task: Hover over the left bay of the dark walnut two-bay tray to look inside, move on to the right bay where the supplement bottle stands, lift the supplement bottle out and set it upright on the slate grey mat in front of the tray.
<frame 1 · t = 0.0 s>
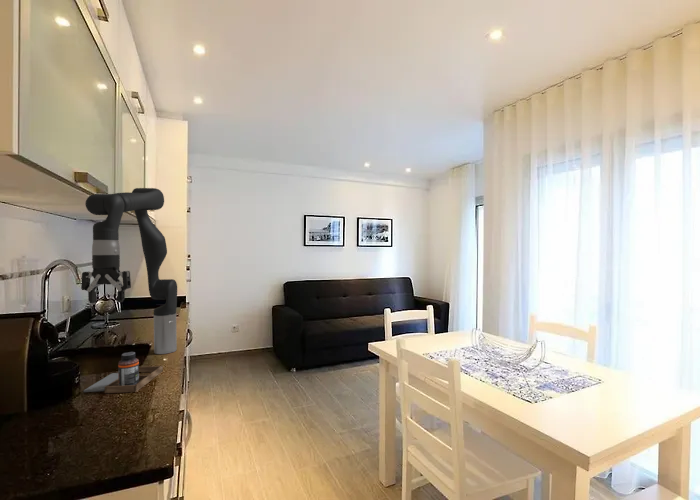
hand: (106, 302, 116), 29 cm above the countertop, tool pointing down, fingers open, 8 cm apart
supplement bottle: (128, 387, 119), resting in two bay tray
two bay tray: (136, 381, 124), on the countertop
slate mat: (108, 382, 123), on the countertop
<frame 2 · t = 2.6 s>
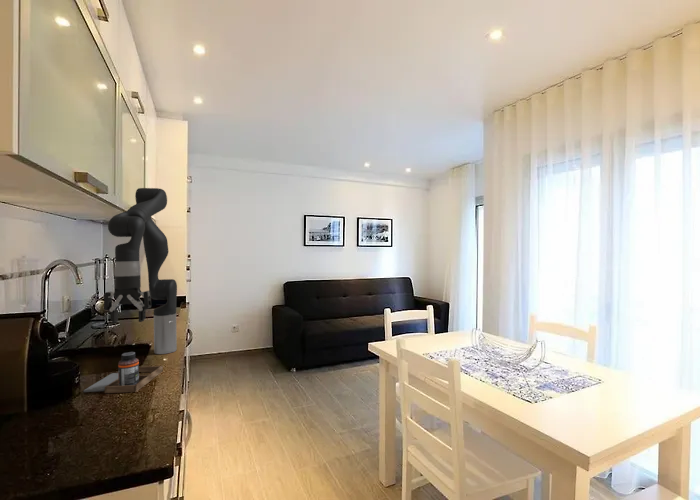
hand: (128, 321, 119), 22 cm above the countertop, tool pointing down, fingers open, 8 cm apart
nothing on the countertop moved.
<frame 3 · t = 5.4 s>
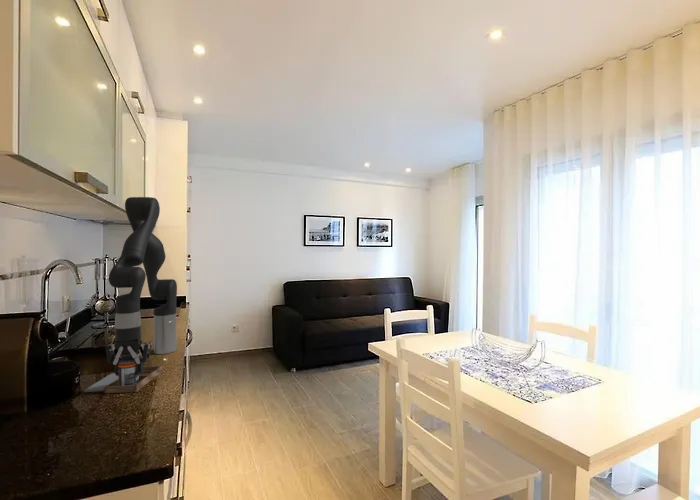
hand: (128, 374, 119), 4 cm above the countertop, tool pointing down, fingers closed on supplement bottle, 6 cm apart
supplement bottle: (128, 387, 119), resting in two bay tray, touching gripper
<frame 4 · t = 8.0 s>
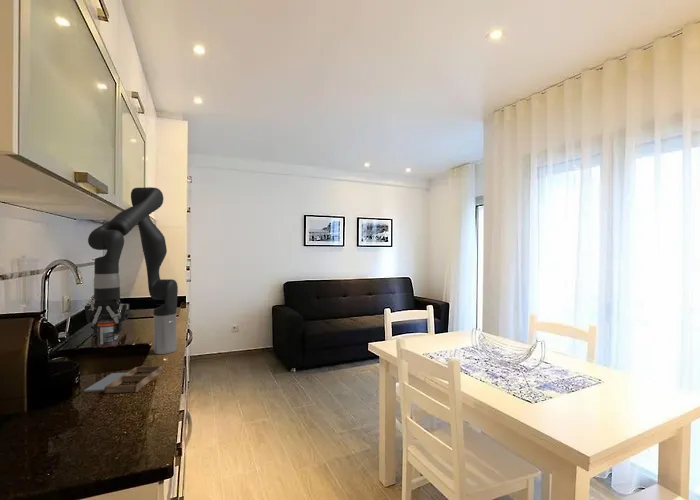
hand: (107, 333, 123), 17 cm above the countertop, tool pointing down, fingers closed on supplement bottle, 6 cm apart
supplement bottle: (107, 346, 123), point 13 cm above the countertop, touching gripper
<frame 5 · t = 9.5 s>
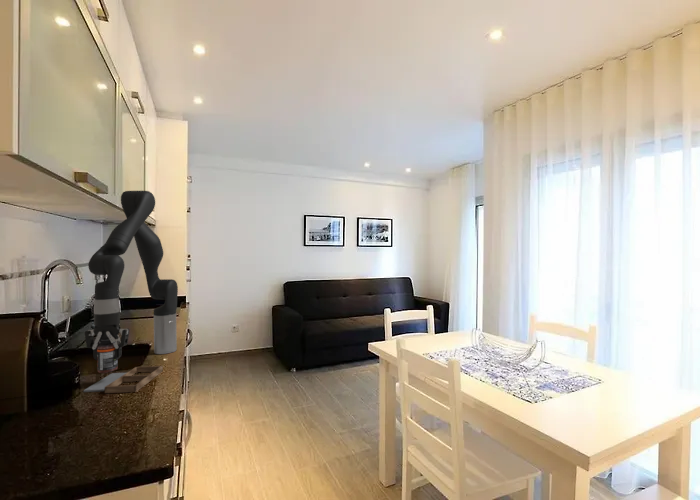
hand: (107, 358, 123), 8 cm above the countertop, tool pointing down, fingers closed on supplement bottle, 6 cm apart
supplement bottle: (107, 371, 123), point 4 cm above the countertop, touching gripper
when the fingers open (6 cm above the countertop, at t = 10.6 s): supplement bottle drops 1 cm, resting on slate mat.
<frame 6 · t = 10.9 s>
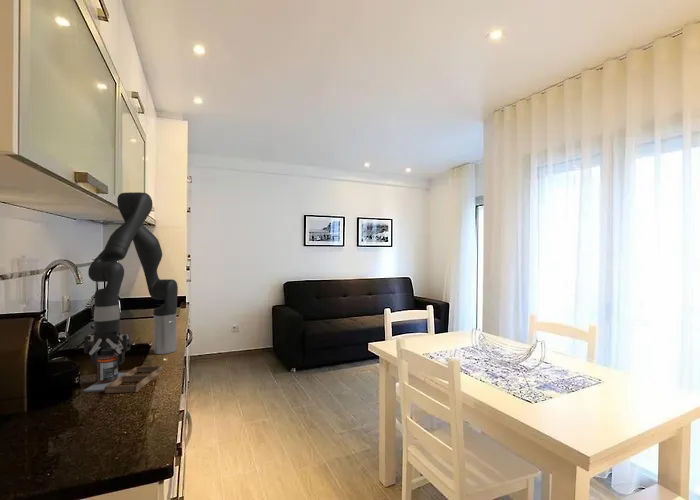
hand: (107, 364, 123), 6 cm above the countertop, tool pointing down, fingers open, 8 cm apart
supplement bottle: (107, 381, 123), resting on slate mat
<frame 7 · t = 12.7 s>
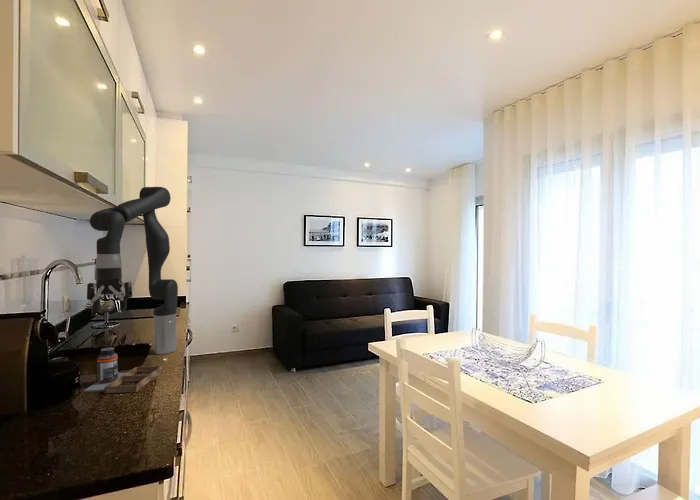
hand: (110, 310, 127), 25 cm above the countertop, tool pointing down, fingers open, 8 cm apart
nothing on the countertop moved.
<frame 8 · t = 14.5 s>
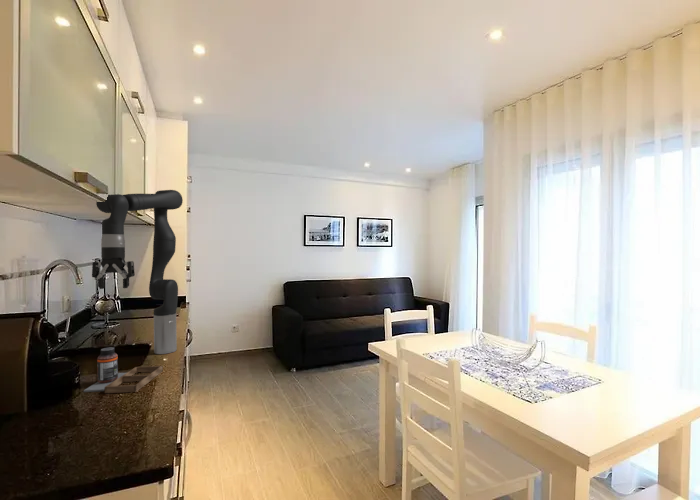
hand: (113, 288, 134), 32 cm above the countertop, tool pointing down, fingers open, 8 cm apart
nothing on the countertop moved.
at the end: supplement bottle inside the target area (0.1 cm from its centre), resting on slate mat; supplement bottle tilted 0°; the gripper is holding nothing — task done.
